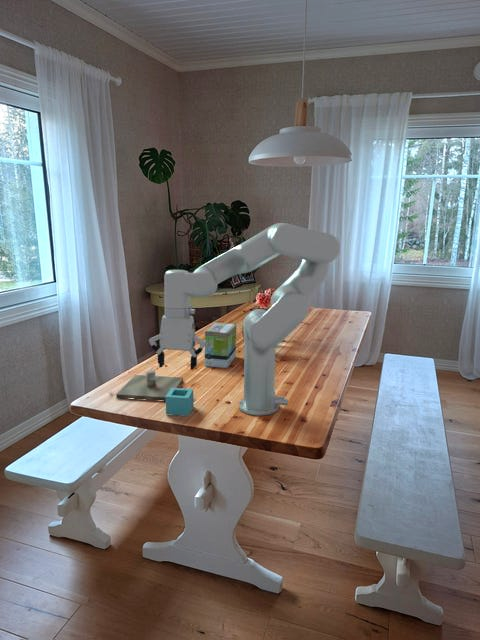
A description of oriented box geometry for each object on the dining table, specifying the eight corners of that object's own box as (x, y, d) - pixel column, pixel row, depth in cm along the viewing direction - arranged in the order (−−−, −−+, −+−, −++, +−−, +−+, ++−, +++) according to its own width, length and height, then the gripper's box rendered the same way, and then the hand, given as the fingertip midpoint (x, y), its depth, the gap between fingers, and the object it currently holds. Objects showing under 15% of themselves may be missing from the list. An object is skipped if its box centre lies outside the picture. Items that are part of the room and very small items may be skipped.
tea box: (228, 368, 177) (228, 332, 174) (203, 366, 179) (203, 330, 175) (236, 356, 191) (236, 323, 188) (213, 355, 193) (213, 321, 190)
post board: (183, 381, 163) (182, 364, 162) (169, 401, 146) (169, 383, 144) (135, 378, 165) (134, 361, 164) (116, 398, 148) (115, 380, 146)
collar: (193, 406, 142) (193, 389, 141) (188, 416, 136) (188, 398, 134) (172, 405, 143) (171, 387, 142) (166, 414, 137) (165, 396, 135)
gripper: (208, 311, 135) (207, 365, 139) (152, 307, 136) (153, 361, 141) (203, 316, 127) (202, 373, 131) (144, 313, 129) (145, 369, 133)
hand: (177, 367), depth 136 cm, fingers open, 9 cm apart
